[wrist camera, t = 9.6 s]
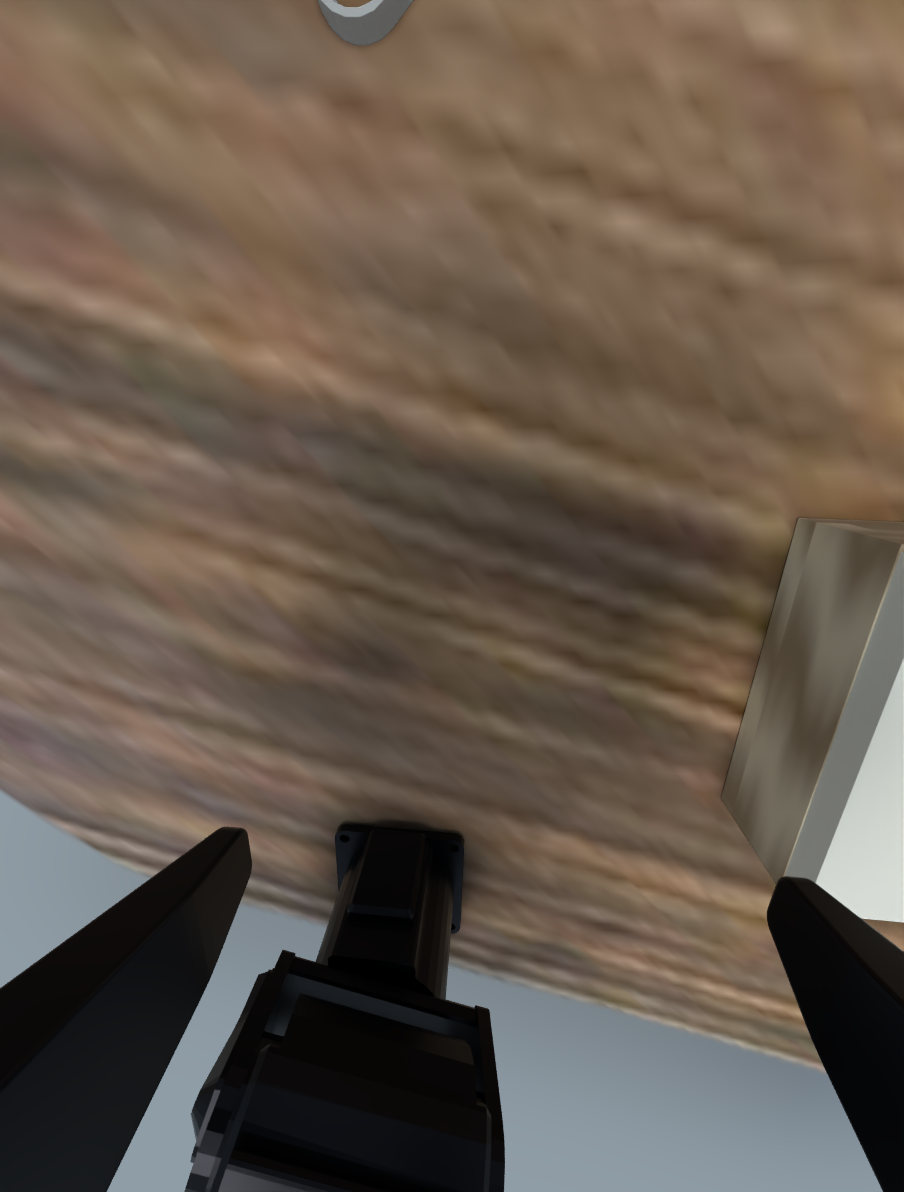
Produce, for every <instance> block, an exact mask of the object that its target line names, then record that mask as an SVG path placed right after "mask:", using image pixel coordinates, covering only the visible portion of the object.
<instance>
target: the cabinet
mask: <svg viewBox="0 0 904 1192" xmlns="http://www.w3.org/2000/svg"><path fill="white" fill-rule="evenodd" d="M901 552H904V522H894V521H868V520H843V519H818V518H798V521H797V524H796V528H795V532H794V535H793V539H792V542H791V546H790V550H789V553H788V557H787V561H786V564H785V568H784V571H783V575H782V579H781V582H780V586H779V590H778V593H777V597H776V600H775V604H774V608H773V611H772V615H771V619H770V622H769V626H768V629H767V633H766V637H765V640H764V644H763V648H762V651H761V655H760V658H759V662H758V666H757V669H756V673H755V677H754V680H753V684H752V687H751V691H750V695H749V698H748V702H747V706H746V709H745V713H744V716H743V720H742V724H741V727H740V731H739V735H738V738H737V742H736V745H735V749H734V753H733V756H732V760H731V764H730V767H729V771H728V774H727V778H726V782H725V785H724V789H723V793H722V796H721V800H722V801H723V803H724V804H725V806H726V807H727V809H728V811H729V812H730V814H731V815H732V817H733V818H734V820H735V821H736V823H737V825H738V826H739V828H740V829H741V831H742V832H743V834H744V835H745V837H746V839H747V840H748V842H749V843H750V845H751V846H752V848H753V849H754V851H755V853H756V854H757V856H758V857H759V859H760V860H761V862H762V863H763V865H764V867H765V868H766V870H767V871H768V873H769V874H770V876H771V877H772V879H773V881H774V882H775V884H777V881H778V879H780V878H781V877H783V876H785V873H786V870H787V868H788V865H789V862H790V859H791V856H792V854H793V851H794V848H795V845H796V842H797V840H798V837H799V834H800V831H801V829H802V826H803V823H804V820H805V817H806V815H807V812H808V809H809V806H810V804H811V801H812V798H813V795H814V792H815V790H816V787H817V784H818V781H819V779H820V776H821V773H822V770H823V767H824V765H825V762H826V759H827V756H828V753H829V751H830V748H831V745H832V742H833V740H834V737H835V734H836V731H837V728H838V726H839V723H840V720H841V717H842V715H843V712H844V709H845V706H846V703H847V701H848V698H849V695H850V692H851V690H852V687H853V684H854V681H855V678H856V676H857V673H858V670H859V667H860V664H861V662H862V659H863V656H864V653H865V651H866V648H867V645H868V642H869V639H870V637H871V634H872V631H873V628H874V626H875V623H876V620H877V617H878V614H879V612H880V609H881V606H882V603H883V601H884V598H885V595H886V592H887V589H888V587H889V584H890V581H891V578H892V575H893V573H894V570H895V567H896V564H897V562H898V559H899V556H900V553H901Z"/></svg>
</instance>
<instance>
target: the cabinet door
mask: <svg viewBox="0 0 904 1192" xmlns="http://www.w3.org/2000/svg"><path fill="white" fill-rule="evenodd" d="M785 876H790V877H801V878H807V879H810V880H812V881H813V882H815V883H816V884H818V885H819V886H820V887H821V888H823V889H824V890H825V891H827V892H828V893H829V894H830V895H832V896H833V897H834V898H836V899H837V900H838V901H839V902H841V903H842V904H843V905H844V906H846V907H847V908H848V909H850V910H851V911H852V912H853V913H855V914H856V915H857V916H859V917H860V918H863V919H874V920H885V921H895V922H904V552H901V553H900V556H899V559H898V562H897V564H896V567H895V570H894V573H893V575H892V578H891V581H890V584H889V587H888V589H887V592H886V595H885V598H884V601H883V603H882V606H881V609H880V612H879V614H878V617H877V620H876V623H875V626H874V628H873V631H872V634H871V637H870V639H869V642H868V645H867V648H866V651H865V653H864V656H863V659H862V662H861V664H860V667H859V670H858V673H857V676H856V678H855V681H854V684H853V687H852V690H851V692H850V695H849V698H848V701H847V703H846V706H845V709H844V712H843V715H842V717H841V720H840V723H839V726H838V728H837V731H836V734H835V737H834V740H833V742H832V745H831V748H830V751H829V753H828V756H827V759H826V762H825V765H824V767H823V770H822V773H821V776H820V779H819V781H818V784H817V787H816V790H815V792H814V795H813V798H812V801H811V804H810V806H809V809H808V812H807V815H806V817H805V820H804V823H803V826H802V829H801V831H800V834H799V837H798V840H797V842H796V845H795V848H794V851H793V854H792V856H791V859H790V862H789V865H788V868H787V870H786V873H785Z"/></svg>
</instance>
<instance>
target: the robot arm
mask: <svg viewBox="0 0 904 1192" xmlns="http://www.w3.org/2000/svg"><path fill="white" fill-rule="evenodd" d="M345 835H347V836H345ZM451 844H455V845H451ZM335 846H336V860H337V874H338V888H339V893H338V896H337V899H336V902H335V905H334V908H333V911H332V914H331V917H330V920H329V923H328V926H327V929H326V932H325V935H324V939H323V941H322V944H321V948H320V950H319V954H318V956H317V959H316V962H314V961H310V960H306V959H303V958H300V957H296V956H295V953H293V952H289V951H286V950H282V953H281V955H280V957H279V959H278V961H277V963H276V966H275V968H273V969H272V970H269V971H268V972H265V973H262V974H259V975H258V977H257V979H256V982H255V984H254V987H253V989H252V991H251V993H250V996H249V998H248V1000H247V1002H246V1005H245V1007H244V1009H243V1012H242V1014H241V1016H240V1018H239V1020H238V1022H237V1024H236V1026H235V1028H234V1030H233V1032H232V1034H231V1036H230V1037H229V1039H228V1041H227V1043H226V1045H225V1047H224V1049H223V1050H222V1052H221V1054H220V1056H219V1057H218V1059H217V1061H216V1063H215V1065H214V1067H213V1068H212V1070H211V1072H210V1074H209V1075H208V1077H207V1079H206V1081H205V1083H204V1084H203V1086H202V1088H201V1090H200V1092H199V1094H198V1097H197V1099H196V1101H195V1104H194V1107H193V1109H192V1113H191V1117H192V1122H193V1127H194V1132H195V1137H196V1144H195V1147H194V1150H193V1153H192V1157H191V1162H192V1163H194V1164H193V1167H192V1170H191V1173H190V1176H189V1179H188V1182H187V1185H186V1189H185V1192H504V1174H505V1147H504V1131H503V1120H502V1112H501V1104H500V1095H499V1087H498V1079H497V1070H496V1062H495V1054H494V1045H493V1037H492V1029H491V1021H490V1012H489V1009H487V1008H483V1007H480V1006H475V1007H474V1008H473V1007H470V1006H466V1005H463V1004H459V1003H455V1002H452V1001H449V1000H445V999H446V985H447V973H448V961H449V948H450V936H451V933H456V932H458V931H459V930H460V921H461V900H462V880H463V859H464V839H463V838H462V837H461V836H460V835H458V834H451V833H439V832H428V831H416V830H404V829H393V828H381V827H369V826H358V825H341V826H340V827H339V828H338V830H337V832H336V835H335ZM251 869H252V859H251V853H250V846H249V839H248V834H247V831H246V830H245V829H243V828H236V827H222V828H220V829H218V830H216V831H215V832H214V833H212V834H211V835H209V836H208V837H207V838H205V839H204V840H203V841H201V842H200V843H199V844H197V845H196V846H194V847H193V848H192V849H190V850H189V851H188V852H186V853H185V854H183V855H182V856H181V857H179V858H178V859H177V860H175V861H174V862H172V863H171V864H170V865H168V866H167V867H166V868H164V869H163V870H162V871H160V872H159V873H157V874H156V875H155V876H153V877H152V878H151V879H149V880H148V881H146V882H145V883H144V884H142V885H141V886H140V887H138V888H137V889H136V890H134V891H133V892H131V893H130V894H129V895H127V896H126V897H125V898H123V899H122V900H120V901H119V902H118V903H116V904H115V905H114V906H112V907H111V908H109V909H108V910H107V911H105V912H104V913H103V914H101V915H100V916H99V917H97V918H96V919H94V920H93V921H92V922H90V923H89V924H88V925H86V926H85V927H84V928H82V929H81V930H79V931H78V932H77V933H75V934H74V935H73V936H71V937H70V938H68V939H67V940H66V941H65V942H63V943H62V944H60V945H59V946H58V947H56V948H55V949H53V950H52V951H51V952H49V953H48V954H46V955H45V956H44V957H42V958H41V959H40V960H38V961H37V962H36V963H34V964H33V965H31V966H30V967H29V968H27V969H26V970H25V971H23V972H22V973H21V974H19V975H18V976H16V977H15V978H14V979H12V980H11V981H10V982H8V983H7V984H5V985H4V986H3V987H1V988H0V1192H107V1190H108V1188H109V1186H110V1184H111V1181H112V1179H113V1177H114V1175H115V1173H116V1171H117V1169H118V1167H119V1165H120V1163H121V1160H122V1159H123V1157H124V1155H125V1153H126V1151H127V1149H128V1147H129V1145H130V1143H131V1140H132V1138H133V1136H134V1134H135V1132H136V1130H137V1128H138V1126H139V1124H140V1122H141V1120H142V1118H143V1116H144V1114H145V1112H146V1110H147V1108H148V1106H149V1104H150V1102H151V1100H152V1097H153V1095H154V1093H155V1091H156V1089H157V1087H158V1085H159V1083H160V1081H161V1079H162V1077H163V1075H164V1073H165V1071H166V1069H167V1067H168V1065H169V1063H170V1061H171V1058H172V1056H173V1054H174V1052H175V1050H176V1048H177V1046H178V1044H179V1042H180V1040H181V1038H182V1036H183V1034H184V1032H185V1030H186V1028H187V1026H188V1024H189V1022H190V1020H191V1018H192V1016H193V1013H194V1011H195V1009H196V1007H197V1005H198V1003H199V1001H200V999H201V997H202V995H203V993H204V991H205V988H206V986H207V984H208V982H209V980H210V978H211V975H212V973H213V970H214V968H215V965H216V963H217V961H218V958H219V955H220V953H221V950H222V948H223V945H224V943H225V940H226V937H227V935H228V932H229V930H230V927H231V924H232V922H233V919H234V917H235V914H236V911H237V909H238V906H239V904H240V901H241V899H242V896H243V893H244V891H245V888H246V886H247V883H248V880H249V878H250V874H251ZM767 922H768V926H769V929H770V932H771V935H772V937H773V940H774V943H775V945H776V948H777V950H778V953H779V956H780V958H781V961H782V964H783V966H784V969H785V971H786V974H787V977H788V979H789V982H790V985H791V987H792V990H793V992H794V995H795V998H796V1000H797V1003H798V1005H799V1008H800V1011H801V1013H802V1016H803V1019H804V1021H805V1024H806V1026H807V1029H808V1031H809V1034H810V1036H811V1039H812V1041H813V1043H814V1046H815V1048H816V1050H817V1052H818V1055H819V1057H820V1059H821V1061H822V1063H823V1066H824V1068H825V1070H826V1072H827V1074H828V1076H829V1078H830V1080H831V1082H832V1085H833V1087H834V1089H835V1091H836V1093H837V1095H838V1097H839V1099H840V1102H841V1104H842V1106H843V1108H844V1110H845V1112H846V1114H847V1116H848V1119H849V1121H850V1123H851V1124H852V1127H853V1129H854V1131H855V1133H856V1135H857V1137H858V1140H859V1142H860V1144H861V1146H862V1148H863V1150H864V1152H865V1154H866V1157H867V1159H868V1161H869V1163H870V1165H871V1167H872V1169H873V1171H874V1173H875V1176H876V1178H877V1180H878V1182H879V1184H880V1186H881V1188H882V1190H883V1192H904V951H902V950H901V949H900V948H898V947H897V946H896V945H895V944H893V943H892V942H891V941H889V940H888V939H887V938H886V937H884V936H883V935H882V934H880V933H879V932H878V931H877V930H875V929H874V928H873V927H871V926H870V925H869V924H868V923H866V922H865V921H864V920H862V919H861V918H860V917H859V916H857V915H856V914H855V913H853V912H852V911H851V910H850V909H848V908H847V907H846V906H844V905H843V904H842V903H841V902H839V901H838V900H837V899H836V898H834V897H833V896H832V895H830V894H829V893H828V892H827V891H825V890H824V889H823V888H821V887H820V886H819V885H818V884H816V883H815V882H813V881H812V880H810V879H807V878H801V877H790V876H783V877H781V878H780V879H778V881H777V884H776V887H775V889H774V892H773V895H772V898H771V901H770V904H769V906H768V910H767Z"/></svg>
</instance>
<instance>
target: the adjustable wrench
mask: <svg viewBox="0 0 904 1192" xmlns="http://www.w3.org/2000/svg"><path fill="white" fill-rule="evenodd" d="M412 1H413V0H372V1H371V2H369V3H367V4H365V5H363V6H360V7H344V6H342V5H340V4H338V2H337V0H318V3H319V5H320V7H321V10H322V12H323V15H324V16H325V18H326V20H327V22H328V24H329V25H330V27H331V29H332V30H333V31H334V32H335V33H336V34H337V35H338V36H339V37H340V38H342V39H343V40H345V41H347V42H349V43H352V44H354V45H370V44H373V43H375V42H377V41H379V40H382V39H383V38H384V37H385V36H386V35H387V34H388V33H389V32H390V31H391V30H392V29H393V27H394V26H395V25H396V23H397V22H398V21H399V19H400V18H401V16H402V15H403V14H404V12H405V11H406V9H407V8H408V7H409V5H410V4H411V3H412Z"/></svg>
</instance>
